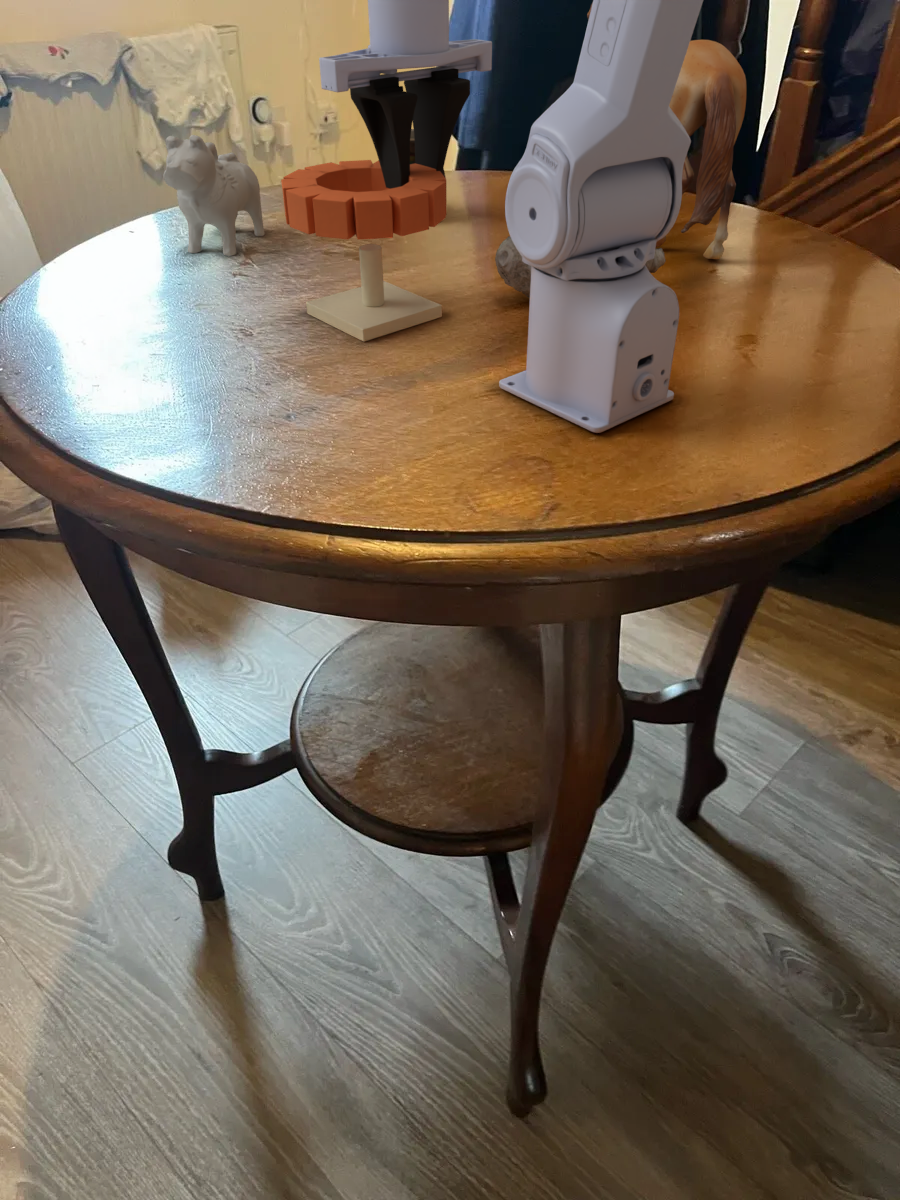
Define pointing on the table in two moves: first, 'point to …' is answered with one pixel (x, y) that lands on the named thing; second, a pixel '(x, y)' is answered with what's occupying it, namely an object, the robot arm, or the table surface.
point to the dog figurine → (211, 190)
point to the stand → (373, 303)
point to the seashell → (520, 272)
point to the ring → (362, 200)
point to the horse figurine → (710, 130)
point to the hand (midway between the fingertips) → (413, 185)
